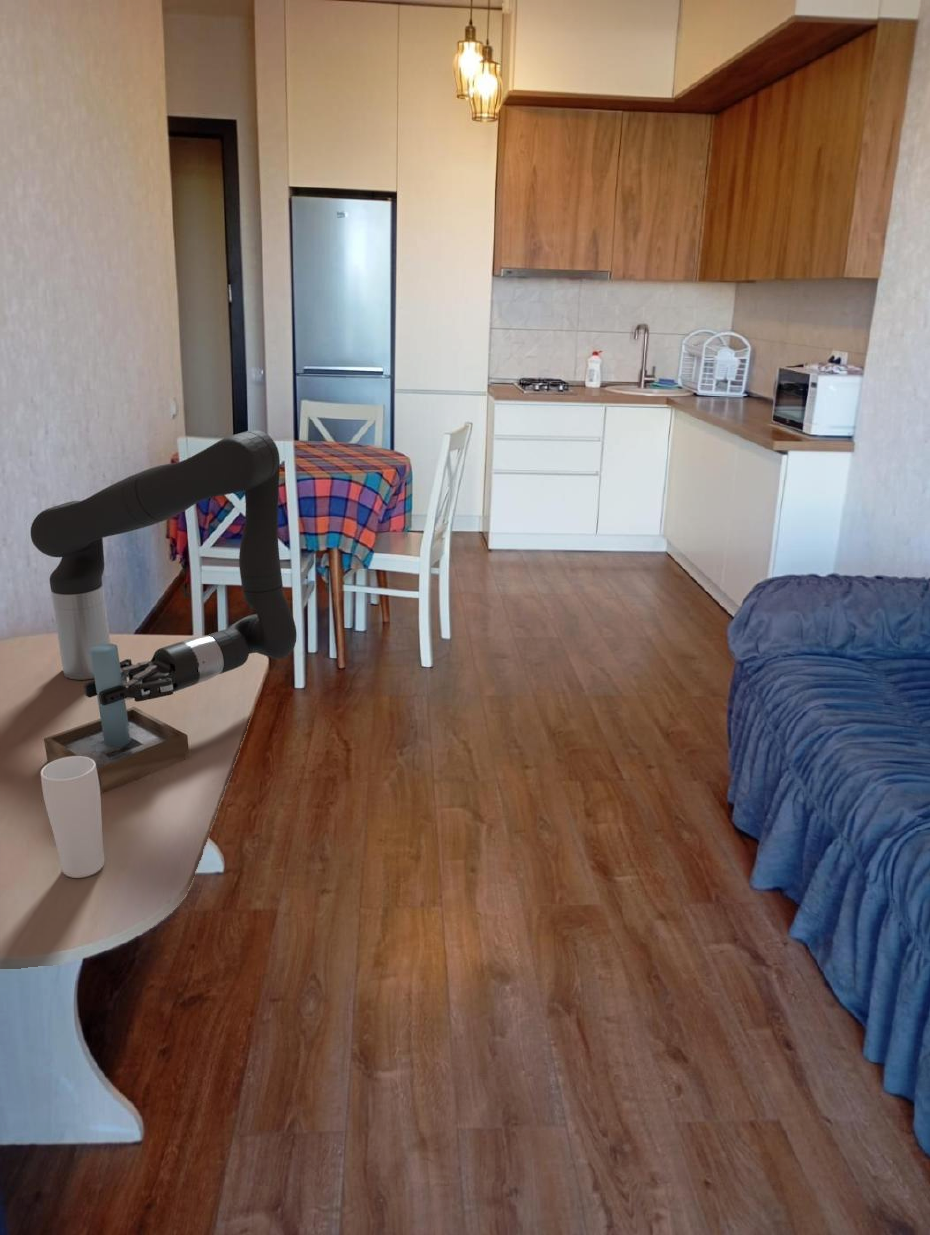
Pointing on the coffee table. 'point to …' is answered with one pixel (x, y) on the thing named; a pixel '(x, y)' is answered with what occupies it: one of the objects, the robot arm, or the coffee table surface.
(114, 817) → the coffee table surface
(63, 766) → the drinking glass
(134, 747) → the grey metal bore plate
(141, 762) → the walnut crate
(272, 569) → the robot arm
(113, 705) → the blue-grey painted peg
